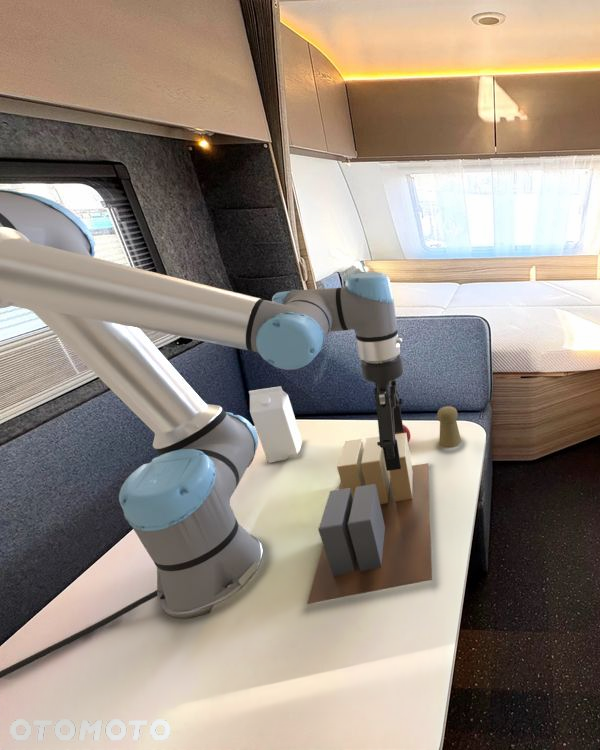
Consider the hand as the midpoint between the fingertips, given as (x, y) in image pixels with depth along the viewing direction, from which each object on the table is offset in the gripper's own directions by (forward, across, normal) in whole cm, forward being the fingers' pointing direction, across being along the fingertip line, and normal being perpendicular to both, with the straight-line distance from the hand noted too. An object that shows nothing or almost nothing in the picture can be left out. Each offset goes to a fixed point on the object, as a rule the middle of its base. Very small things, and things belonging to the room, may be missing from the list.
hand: (395, 448), depth 82 cm
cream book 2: (+10, 0, +4) cm, 11 cm away
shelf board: (+12, -9, +4) cm, 15 cm away
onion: (+12, +17, +1) cm, 21 cm away
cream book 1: (+10, 0, +9) cm, 14 cm away
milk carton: (+12, +22, +31) cm, 40 cm away
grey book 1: (+10, -16, +9) cm, 21 cm away
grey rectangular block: (+10, -16, +4) cm, 20 cm away
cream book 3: (+10, 0, -1) cm, 10 cm away
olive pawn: (+11, +15, -12) cm, 22 cm away
